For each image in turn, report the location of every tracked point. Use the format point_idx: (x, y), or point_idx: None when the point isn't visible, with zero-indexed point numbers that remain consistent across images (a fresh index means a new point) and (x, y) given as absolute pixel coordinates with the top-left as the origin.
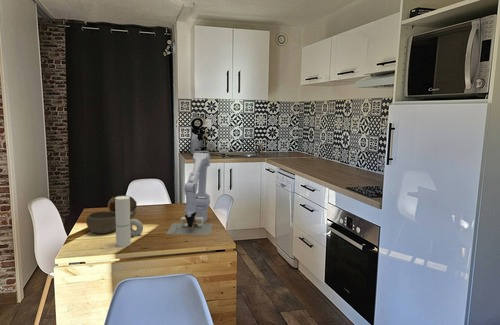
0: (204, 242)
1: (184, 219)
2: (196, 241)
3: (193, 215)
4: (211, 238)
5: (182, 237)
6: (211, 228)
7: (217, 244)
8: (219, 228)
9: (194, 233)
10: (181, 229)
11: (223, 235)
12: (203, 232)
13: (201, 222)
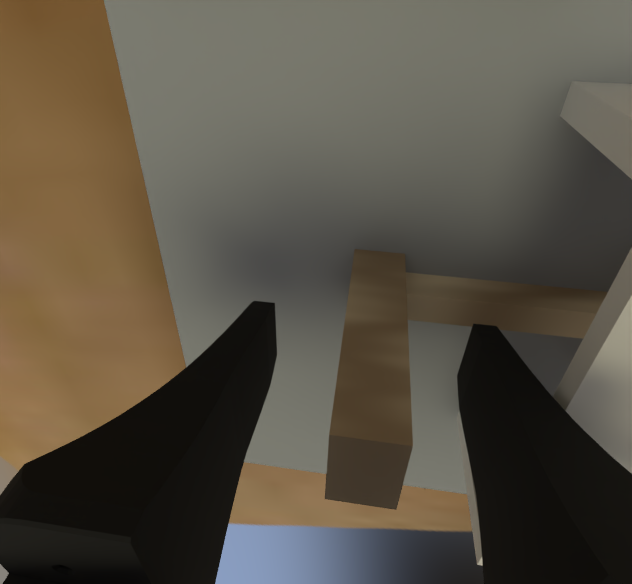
0: (14, 389)
1: (627, 273)
2: (4, 328)
3: (496, 577)
4: None
5: (70, 155)
6: (426, 485)
7: (18, 459)
8: (462, 522)
9: (217, 326)
10: (440, 106)
11: (246, 514)
12: (272, 413)
13: (473, 489)
